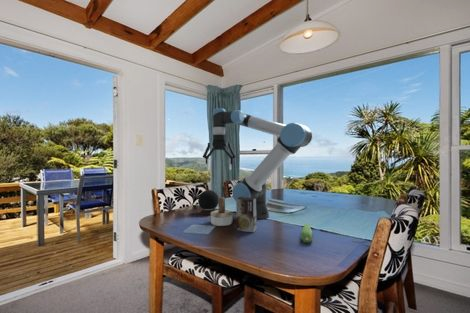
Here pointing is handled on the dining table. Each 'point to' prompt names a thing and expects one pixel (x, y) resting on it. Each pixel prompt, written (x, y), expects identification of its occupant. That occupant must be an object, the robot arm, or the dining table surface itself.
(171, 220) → the dining table surface
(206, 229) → the mat
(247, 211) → the coffee box
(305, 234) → the green oval lump
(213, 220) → the bowl
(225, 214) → the lid
